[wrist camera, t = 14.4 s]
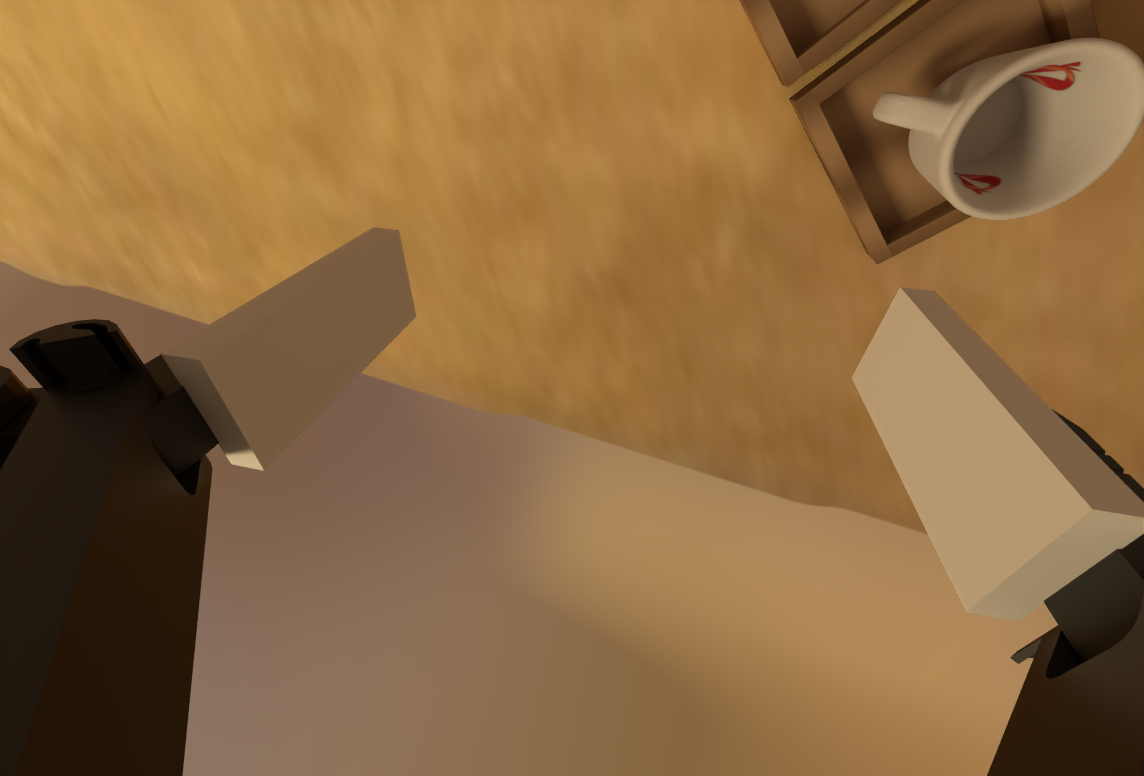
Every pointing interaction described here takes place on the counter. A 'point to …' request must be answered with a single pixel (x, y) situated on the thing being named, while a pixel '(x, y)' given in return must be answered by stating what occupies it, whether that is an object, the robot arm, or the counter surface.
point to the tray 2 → (917, 67)
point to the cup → (1023, 125)
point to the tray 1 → (808, 29)
